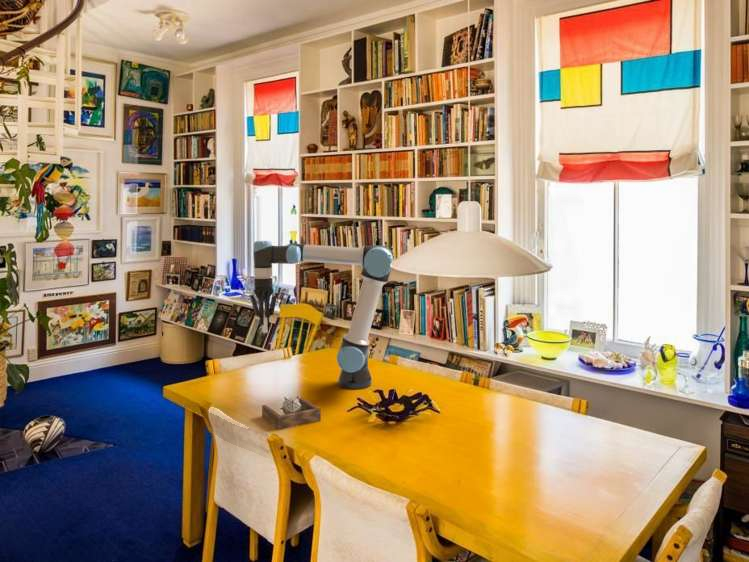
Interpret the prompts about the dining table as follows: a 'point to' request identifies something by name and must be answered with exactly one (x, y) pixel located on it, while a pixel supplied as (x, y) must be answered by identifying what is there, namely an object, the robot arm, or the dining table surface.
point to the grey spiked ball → (291, 406)
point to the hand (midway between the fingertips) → (264, 332)
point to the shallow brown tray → (292, 415)
